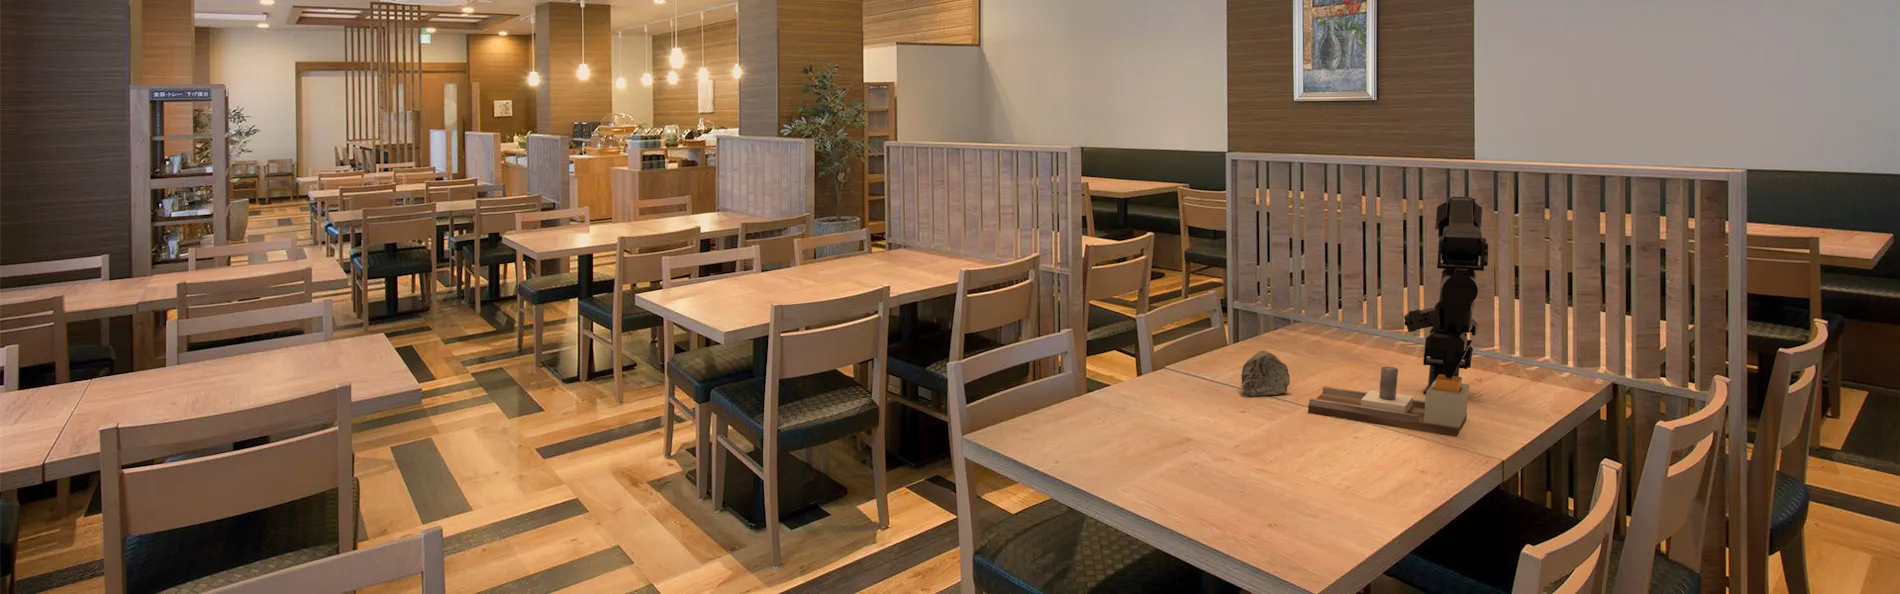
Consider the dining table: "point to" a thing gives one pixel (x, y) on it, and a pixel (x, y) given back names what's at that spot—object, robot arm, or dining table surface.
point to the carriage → (1388, 394)
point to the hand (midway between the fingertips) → (1448, 377)
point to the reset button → (1448, 383)
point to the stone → (1264, 375)
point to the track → (1375, 412)
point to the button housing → (1446, 406)
